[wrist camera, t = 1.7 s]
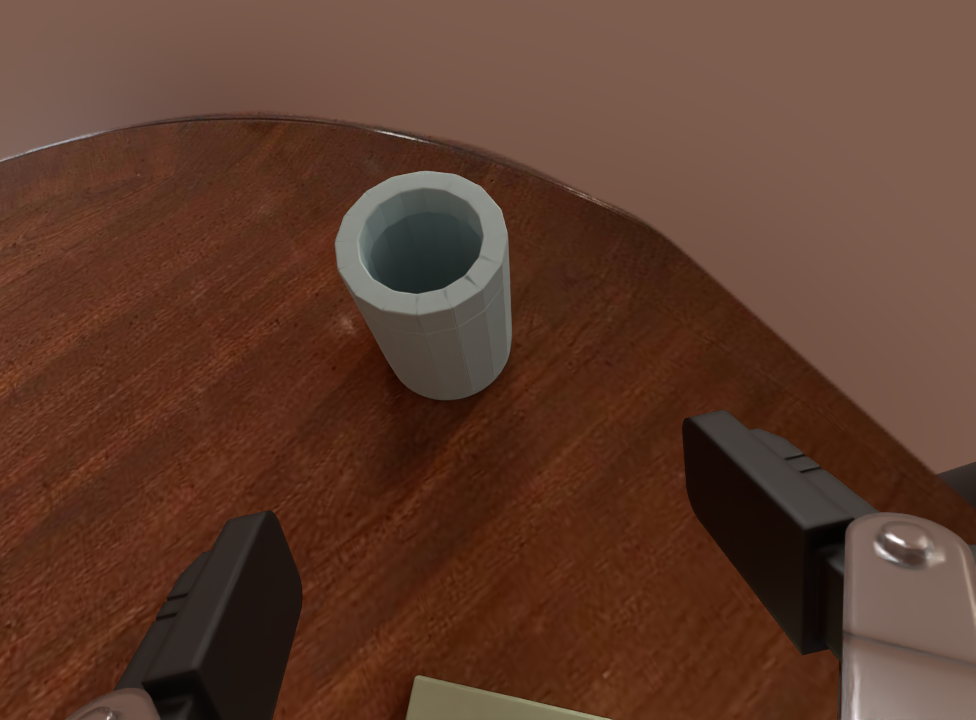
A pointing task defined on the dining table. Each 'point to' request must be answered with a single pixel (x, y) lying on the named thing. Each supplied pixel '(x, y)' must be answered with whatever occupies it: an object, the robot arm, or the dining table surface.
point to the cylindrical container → (431, 280)
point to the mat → (478, 704)
